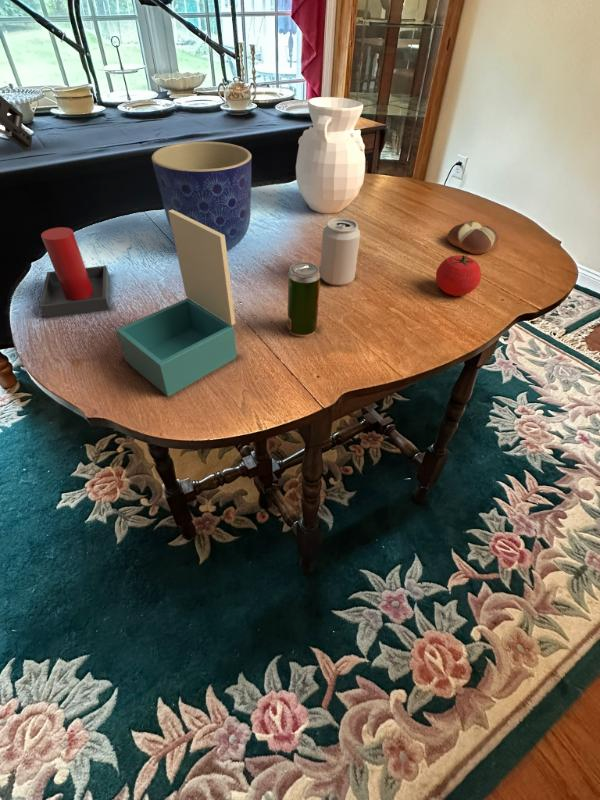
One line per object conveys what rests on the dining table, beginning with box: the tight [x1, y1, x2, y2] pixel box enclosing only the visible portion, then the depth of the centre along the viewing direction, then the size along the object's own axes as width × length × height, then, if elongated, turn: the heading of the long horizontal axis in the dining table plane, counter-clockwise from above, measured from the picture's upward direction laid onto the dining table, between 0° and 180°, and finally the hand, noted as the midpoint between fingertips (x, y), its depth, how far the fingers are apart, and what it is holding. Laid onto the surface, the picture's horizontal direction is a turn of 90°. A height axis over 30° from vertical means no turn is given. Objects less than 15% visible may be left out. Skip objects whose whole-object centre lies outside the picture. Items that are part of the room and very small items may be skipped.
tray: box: [39, 265, 111, 319], centre depth 84 cm, size 11×13×3 cm
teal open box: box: [115, 297, 237, 397], centre depth 70 cm, size 14×12×6 cm
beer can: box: [286, 261, 321, 338], centre depth 75 cm, size 5×5×12 cm
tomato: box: [435, 254, 482, 297], centre depth 88 cm, size 9×9×8 cm
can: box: [319, 217, 361, 287], centre depth 89 cm, size 8×8×12 cm
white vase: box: [295, 96, 366, 214], centre depth 113 cm, size 19×18×25 cm
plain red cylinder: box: [40, 226, 93, 300], centre depth 80 cm, size 5×5×12 cm
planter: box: [151, 141, 253, 250], centre depth 97 cm, size 21×21×19 cm
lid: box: [168, 210, 236, 326], centre depth 66 cm, size 14×12×1 cm
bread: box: [446, 220, 499, 255], centre depth 106 cm, size 11×11×5 cm
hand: (2, 142), depth 62 cm, fingers open, 8 cm apart
